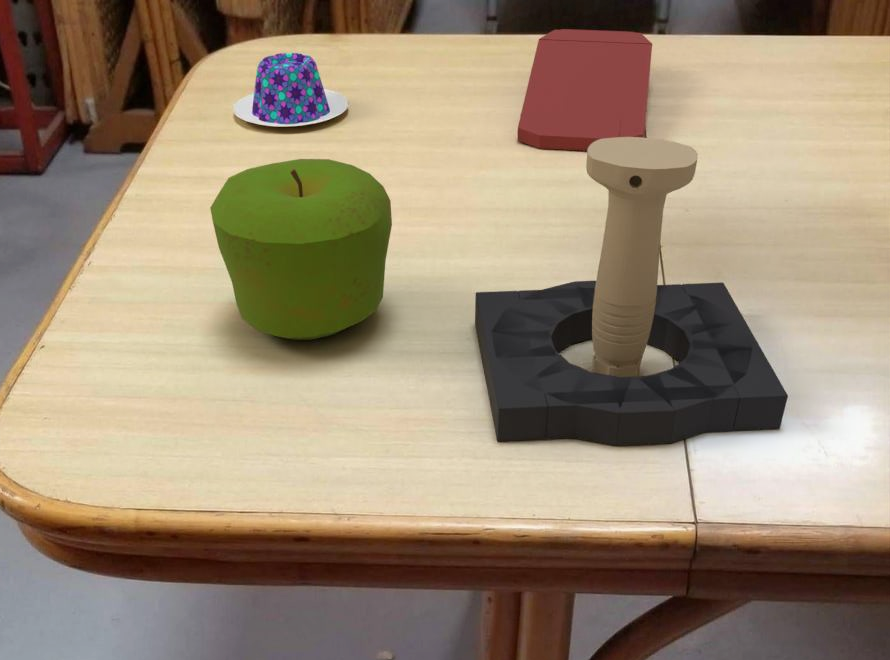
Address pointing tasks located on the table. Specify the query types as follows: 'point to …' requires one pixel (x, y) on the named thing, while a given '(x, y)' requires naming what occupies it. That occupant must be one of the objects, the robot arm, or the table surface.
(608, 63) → the red chamfered slab
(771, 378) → the black plate with hole
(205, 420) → the table surface
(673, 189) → the handle
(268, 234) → the apple
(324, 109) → the pudding
